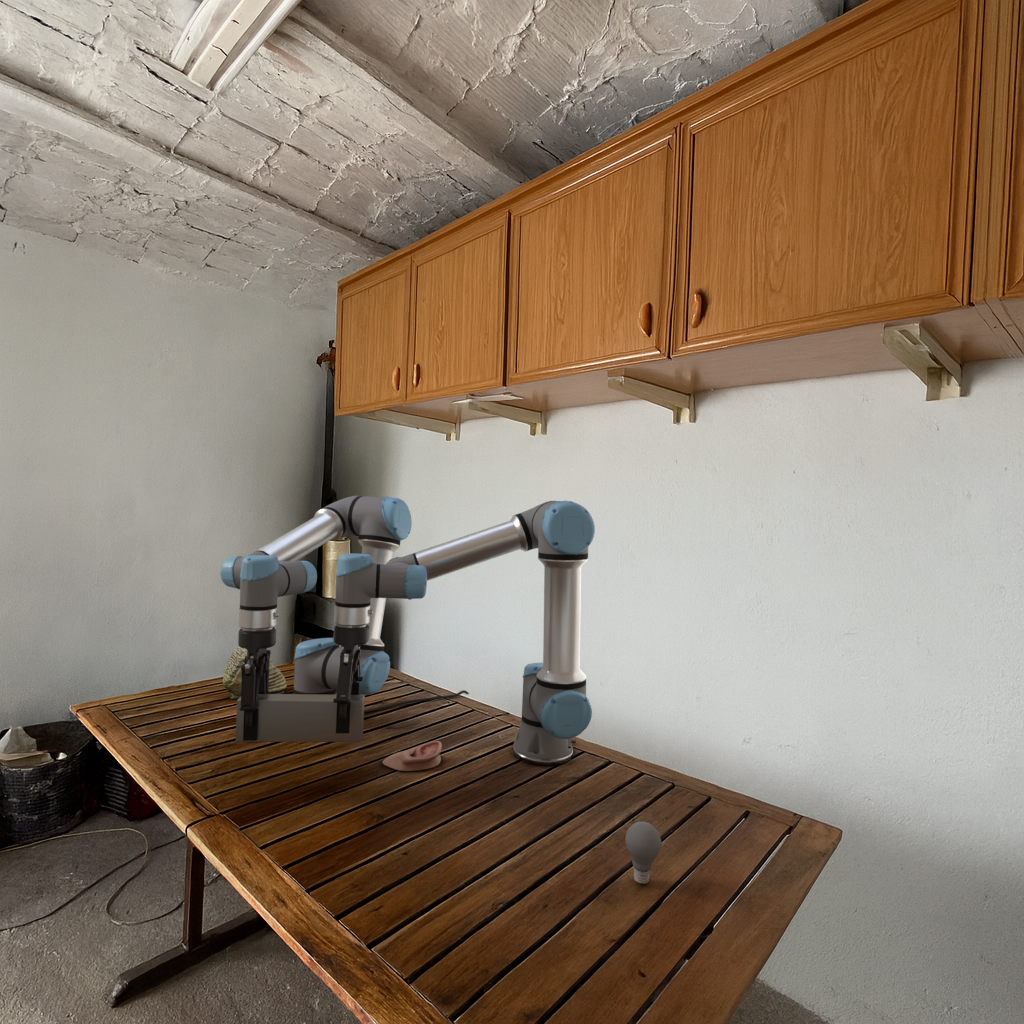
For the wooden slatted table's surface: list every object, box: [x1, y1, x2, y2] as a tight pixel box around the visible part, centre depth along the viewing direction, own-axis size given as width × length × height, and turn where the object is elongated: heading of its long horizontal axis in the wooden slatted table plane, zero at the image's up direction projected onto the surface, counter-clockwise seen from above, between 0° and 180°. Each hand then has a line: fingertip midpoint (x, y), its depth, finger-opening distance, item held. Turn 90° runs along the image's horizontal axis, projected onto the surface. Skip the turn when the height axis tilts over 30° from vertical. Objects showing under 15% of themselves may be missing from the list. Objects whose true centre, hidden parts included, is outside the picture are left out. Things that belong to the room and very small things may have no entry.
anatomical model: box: [382, 740, 443, 772], centre depth 153 cm, size 13×4×12 cm
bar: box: [235, 693, 366, 743], centre depth 137 cm, size 26×5×9 cm, turn 96°
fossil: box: [222, 646, 288, 699], centre depth 198 cm, size 9×18×15 cm, turn 132°
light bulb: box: [624, 821, 662, 884], centre depth 108 cm, size 6×6×10 cm
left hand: (253, 735), depth 136 cm, fingers closed on bar, 5 cm apart
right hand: (347, 721), depth 139 cm, fingers open, 13 cm apart
